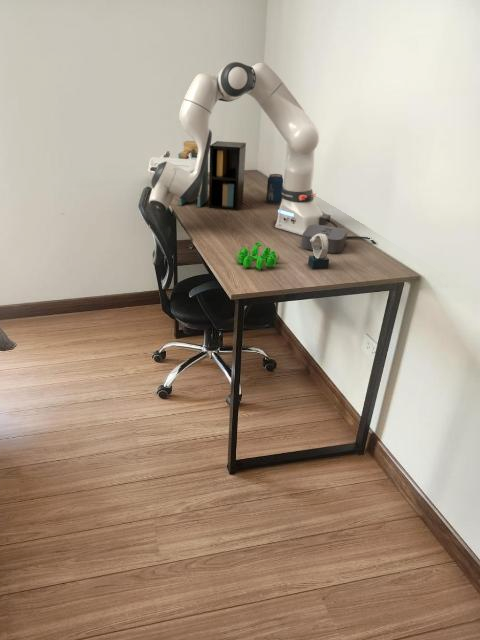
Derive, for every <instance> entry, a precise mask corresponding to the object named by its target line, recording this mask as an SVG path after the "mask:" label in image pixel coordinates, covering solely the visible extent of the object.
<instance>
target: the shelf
mask: <svg viewBox="0 0 480 640" xmlns="http://www.w3.org/2000/svg"><path fill="white" fill-rule="evenodd" d="M246 146H247V142H237V141H223V140H216V141H215V142H213V143H211V145H210V150H209V172H208V209H215V210H217V209H219V210H228V211H229V210H230V211H238V210H239V209H240V208H241V206H243V203H244V187H245V186H244V185H245V167H246V149H247V147H246Z"/></svg>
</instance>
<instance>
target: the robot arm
mask: <svg viewBox="0 0 480 640" xmlns="http://www.w3.org/2000/svg"><path fill="white" fill-rule="evenodd" d="M245 94H248V95H249V96H250V97H252V98H253V99H254V100H255V102H256V103H257V105H258V106H259V107H260V109H261V110H262V111H263V113H264V114H265V115H266V116H267V117H268V119H269V120H270V121H271V123H272V124H273V126H274V127H275V128H276V130H277V131H278V132H279V134H280V136H282V137H283V139H284V140H285V142H286V145H285V147H286V148H285V164H284V165H285V166H284V177H283V188H282V196H281V197H282V199H281V202H280V205H279V208H278V210H277V213H278V214H277V219H276V222H275V224H274V228H276V229H280V230H282V231H286V232H290V233H292V234H296V235H300V236H303V233H304V231H305V230H306V229H307V228H308V227H309V226H310V225H322V226H328V224H332V225H333V227H338V225H337V224H336V223H335V222H333V221H332V220H331V214H325V213H324V214H323V211H322V210H321V209H320V207H318V205H317V203H316V202H315V201H314V197H316V195H317V193H316V192H315V193H314V191H313V188H312V186H313V181H314V180H313V178H314V172H315V171H314V170H315V150H316V149H317V147H318V146H319V143H320V137H321V136H320V131H319V128H318V127H317V126H316V124H315V123H314V121H313V120H312V119H311V118H310V116H309V115H308V114H307V113H306V111H305V110H304V108H303V107H302V105H301V104H300V103H299V102H298V101H297V99H296V97H295V96H294V95H293V93H292V92H291V91H290V89H289V88H288V86H286V84H285V82H284V81H283V80H282V79H281V78H280V76H278V74H277V73H276V72H275V71H274V70H273V69H272V68H271V67H270V65H268V64H266V63H265V62H257V63H254V64H253V65H252V66H250V65H247V64H244V63H242V62H239V61H234V62H233V61H232V62H230V63H228V64H227V65H224V67H222V68H221V70H220V71H219V72H218V73H217V74H216V75H214V76H213V75H211V74H209V73H205V72H204V73H203V72H201V73H199V74H197V75H196V76H195V77H194V79H193V80H192V81H191V84H190V85H189V87H188V88H187V90H186V93H185V95H184V98H183V100H182V102H181V106H180V108H179V113H178V119H179V123H180V125H181V127H182V128H183V130H184V131H185V132H186V133H187V134H188V135H189V137H190V138H191V139H192V141H195V143H196V144H197V147H198V155H197V158H195V159H193V158H191V157H192V154H191V153H187V159H179V158H178V157H170V155H171V153H170V151H168V150H165V152H164V153H163V154H162V155H161V156H152V157H151V158H150V159H149V161H148V168H147V174H148V177H149V181H150V182H151V187H152V189H151V191H150V195H149V199H148V205H149V206H150V207H151V208H152V209H153V210H155V211H157V212H159V213H160V212H162V213H164V212H166V211H167V210H168V209H169V207H170V206H171V204H172V201H173V200H174V197H175V196H176V197H178V198H179V197H180V198H181V199H183V200H184V201H186V202H185V203H191V202H195V201H197V200H198V197H199V195H200V193H201V189H202V179H203V175H204V171H205V167H206V163H207V159H208V160H209V155H210V145H212V139H213V132H212V130H211V129H210V119H211V115H212V112H213V110H214V108H215V105H216V104H217V102H218V101H220V102H226V103H227V102H233V101H236V100H238V99H240V98H241V97H242V96H243V95H245ZM338 228H339V227H338ZM368 237H369V236H357V235H352V236H351V235H350V236H349V235H347V238H346V239H358V240H359V239H361V240H369V239H370V238H371V237H369V238H368ZM370 241H371V243H372V244H374V245H376V240H374V239H373V240H370Z"/></svg>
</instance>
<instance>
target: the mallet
mask: <svg viewBox="0 0 480 640" xmlns="http://www.w3.org/2000/svg"><path fill="white" fill-rule="evenodd" d="M180 153H181V158H187V153H191V154H198V147H197V144H196V143H195V141H194V140H185V141H184V142H183V151H181V152H180Z"/></svg>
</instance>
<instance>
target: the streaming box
mask: <svg viewBox="0 0 480 640" xmlns="http://www.w3.org/2000/svg"><path fill="white" fill-rule="evenodd" d="M320 233H322V234H326V235H327V238H328V252H327V253H331V254H339V253H341V252H342V250H343V249H344V247H345V245H346V244H347V239H348V238H347V236H348V229H346V228H345V227H344V228H343V227H335V226H328V225H325V226H322V225H310V226H309V227H308V228H307V229H306V230H305V231H304V233H303V235H302V238H301V248H302V249H305V250H309V251H313V247H312V242H310V239H311V238H312V237H313V236H314V235H316V234H320ZM321 250H322V246H321V247H320V251H321Z"/></svg>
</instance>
